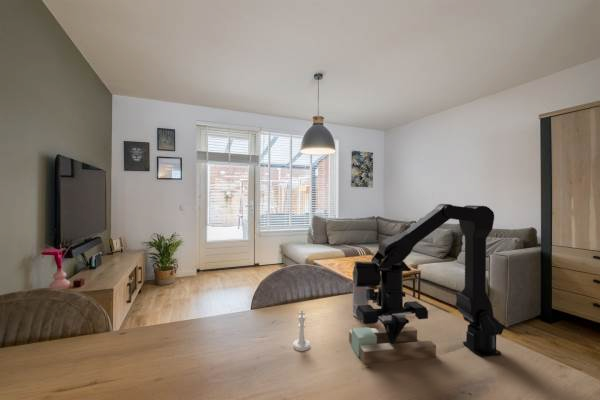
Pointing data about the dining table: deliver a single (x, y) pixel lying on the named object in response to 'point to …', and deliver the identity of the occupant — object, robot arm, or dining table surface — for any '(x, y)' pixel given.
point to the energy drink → (359, 298)
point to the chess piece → (301, 335)
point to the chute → (395, 347)
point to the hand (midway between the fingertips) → (391, 342)
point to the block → (362, 338)
